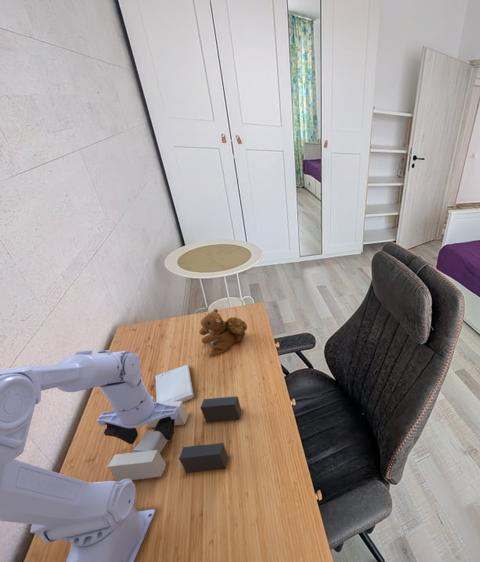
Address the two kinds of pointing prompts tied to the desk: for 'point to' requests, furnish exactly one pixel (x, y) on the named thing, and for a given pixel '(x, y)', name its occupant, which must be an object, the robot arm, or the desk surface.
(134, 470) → the white cases
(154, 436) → the usb wall charger
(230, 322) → the stuffed squirrel
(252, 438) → the desk surface
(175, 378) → the hard drive
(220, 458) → the grey cases
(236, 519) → the desk surface
